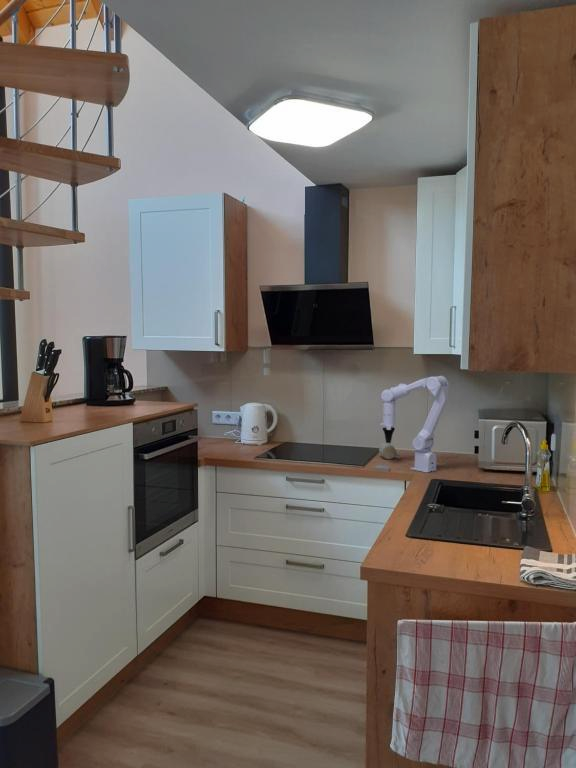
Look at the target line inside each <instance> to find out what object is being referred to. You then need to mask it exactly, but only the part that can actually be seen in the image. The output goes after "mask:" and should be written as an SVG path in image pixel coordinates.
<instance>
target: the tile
mask: <svg viewBox="0 0 576 768" xmlns="http://www.w3.org/2000/svg"><path fill="white" fill-rule="evenodd" d="M374 472H385V473H386V472H387V473H389V472H390V465H382V464H381V465H380V464H379V465H378V464H376V465H375V471H374Z"/></svg>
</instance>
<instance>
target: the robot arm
mask: <svg viewBox="0 0 576 768" xmlns="http://www.w3.org/2000/svg"><path fill="white" fill-rule="evenodd" d="M449 386H450V384H449V382H448V380H447V378H446V377H445V376H444V375H438V376H429V377H425V378H421V379H418V380H417V381H413V382H412V383H410V384H406V383H399V384H398V385H396V386H395V387H390V389H384V390H383V391H382V392H381V396H380V397H381V399H382V402H383V404H382V407H383V408H382V422H381V423H380V426H384V427H382V430H383V433H384V438H385V442H386V443H391V444H392V439H393V438H392V437H393V434H394V432H395V430H396V429H395V426H396V405H397V404H396V403H397V402H396V401H397V400H399V399H401V398H405V397H407V396H409V394H410V393H411V392H413V391H417V390H419V389H422V388H423V389H428V391H429V392H430V393H431V394H432V395H433V397H434V401H433V403H432V406H431V409H430V411H429V412H428V415H427V417H426V420H425V421H424V422H425V423H423V424H424V425H423V426H422V429H421V430H420V431H419V432H418V433H417V436H416V437H415V438H414V439H413V440H412V448H413V449H414V465H413V466H414V467H410V470H413V471H418V472H423V473H431V471H432V472H435V471H438V469H437V454H436V453H435V452H432V448H433V446H434V442H435V431H436V429H437V425H438V424H439V421H440V419H441V417H442V415H443V413H444V410H445V408H446V405H447V404H448V401H449V398H450V397H449Z"/></svg>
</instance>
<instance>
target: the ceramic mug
mask: <svg viewBox="0 0 576 768" xmlns="http://www.w3.org/2000/svg"><path fill="white" fill-rule="evenodd" d="M378 452H379V454H380V455H381V456H382V458H384V459H386V460H393V459H394V458H396V459H401V458H402V455H401V454H399V453H397V450H396V448H395V446H394V445H393V444H392V442H391V443H386V441H385V442H382V443H380V445H379V447H378Z"/></svg>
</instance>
